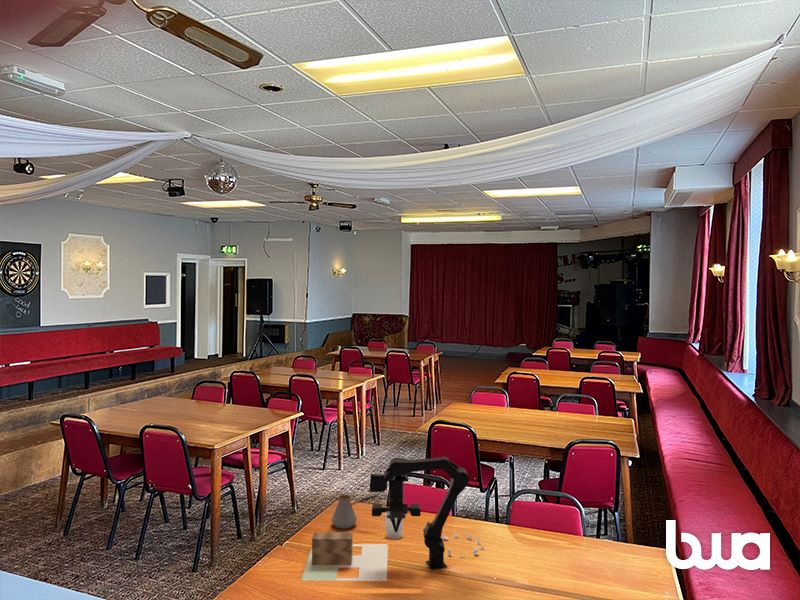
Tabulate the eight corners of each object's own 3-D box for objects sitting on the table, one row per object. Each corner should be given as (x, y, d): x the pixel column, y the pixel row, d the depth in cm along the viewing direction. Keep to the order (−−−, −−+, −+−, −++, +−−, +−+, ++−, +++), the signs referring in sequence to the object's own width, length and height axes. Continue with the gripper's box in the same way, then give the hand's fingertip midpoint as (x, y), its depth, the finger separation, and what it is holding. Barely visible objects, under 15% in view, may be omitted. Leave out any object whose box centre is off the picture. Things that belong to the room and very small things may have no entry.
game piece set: (492, 553, 238) (492, 544, 237) (448, 562, 230) (448, 552, 230) (469, 534, 256) (469, 526, 255) (428, 542, 248) (428, 533, 248)
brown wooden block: (352, 557, 230) (352, 532, 229) (351, 564, 224) (351, 539, 223) (314, 557, 230) (314, 532, 229) (311, 564, 224) (311, 539, 223)
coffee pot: (328, 529, 260) (328, 496, 259) (335, 519, 271) (335, 487, 271) (374, 533, 255) (374, 499, 255) (380, 523, 267) (380, 490, 266)
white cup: (395, 541, 248) (395, 518, 247) (381, 536, 252) (381, 513, 252) (406, 535, 254) (407, 512, 254) (392, 530, 259) (392, 508, 258)
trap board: (387, 547, 242) (387, 544, 242) (386, 584, 212) (386, 580, 212) (312, 547, 242) (312, 544, 241) (301, 584, 212) (301, 580, 211)
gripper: (371, 499, 218) (371, 541, 218) (421, 499, 218) (421, 541, 218) (372, 489, 229) (372, 528, 229) (420, 489, 229) (419, 528, 230)
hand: (396, 531), depth 226 cm, fingers closed
